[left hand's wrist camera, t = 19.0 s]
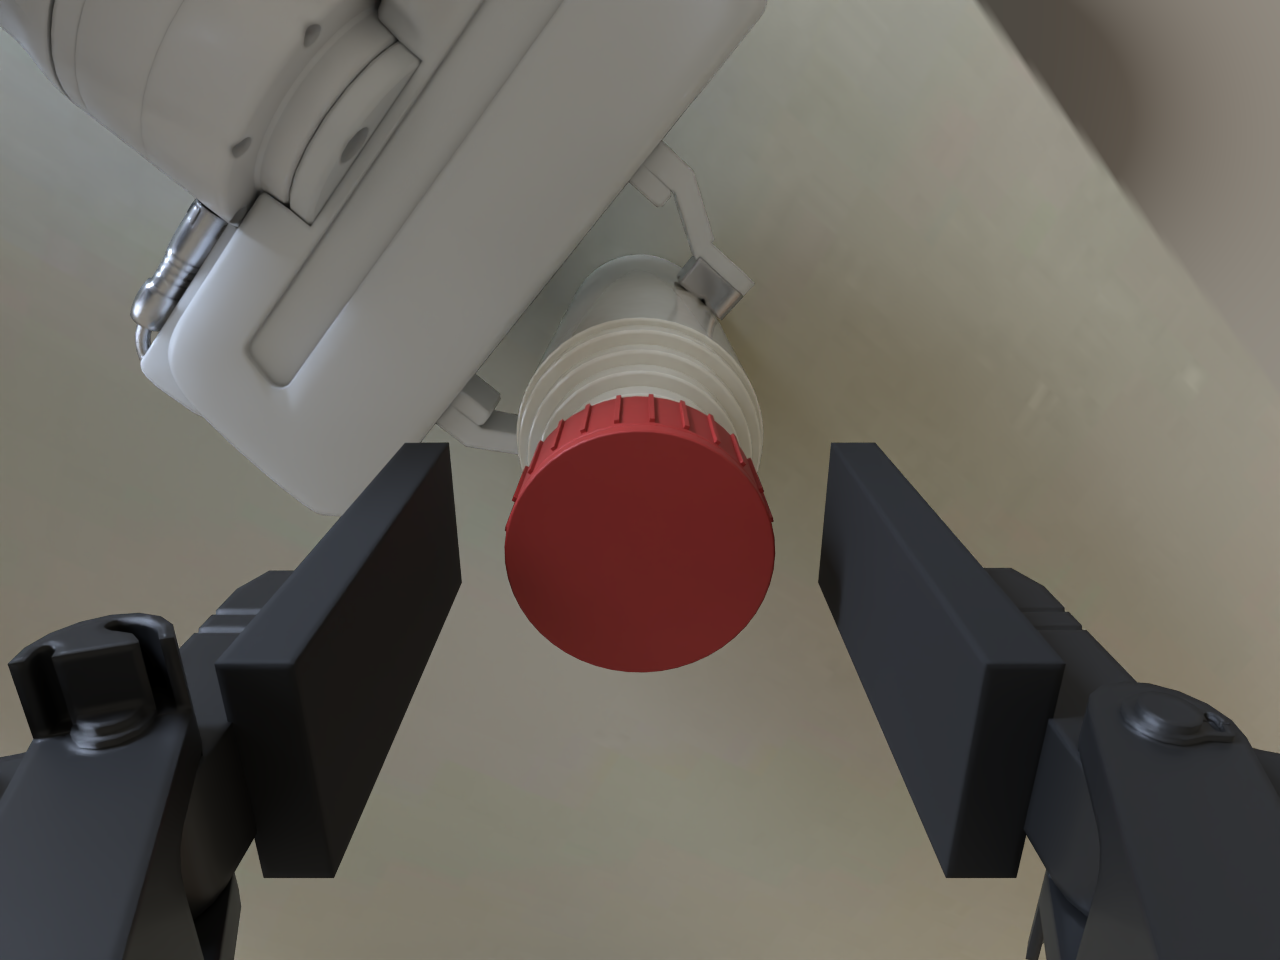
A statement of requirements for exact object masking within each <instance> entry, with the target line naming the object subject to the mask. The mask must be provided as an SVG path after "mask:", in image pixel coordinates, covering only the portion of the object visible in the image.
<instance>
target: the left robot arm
mask: <svg viewBox="0 0 1280 960" xmlns="http://www.w3.org/2000/svg"><path fill="white" fill-rule="evenodd" d="M461 583H462V580H461V569H460V558H459V547H458V536H457V526H456V515H455V504H454V493H453V483H452V472H451V461H450V450H449V443H404V444H403V446H402V447H401V448H400V449H399V450H398V451H397V452H396V454H395V455H394V456H393V457H392V458H391V459H390V461H389V462H388V463H387V464H386V465H385V466H384V468H383V469H382V470H381V471H380V472H379V473H378V474H377V476H376V477H375V478H374V479H373V480H372V481H371V483H370V484H369V485H368V486H367V487H366V488H365V490H364V491H363V492H362V493H361V494H360V495H359V496H358V498H357V499H356V500H355V501H354V502H353V503H352V505H351V506H350V507H349V508H348V509H347V510H346V512H345V513H344V514H343V515H342V516H341V517H340V518H339V520H338V521H337V522H336V523H335V524H334V525H333V527H332V528H331V529H330V530H329V531H328V532H327V534H326V535H325V536H324V537H323V538H322V539H321V540H320V542H319V543H318V544H317V545H316V546H315V547H314V549H313V550H312V551H311V552H310V553H309V554H308V556H307V557H306V558H305V559H304V560H303V561H302V562H301V564H300V565H299V566H298V567H297V568H296V569H295V571H268V572H266V573H264V574H263V575H261V576H259V577H257V578H256V579H254V580H252V581H250V582H248V583H247V584H245V585H243V586H241V587H240V588H238V589H236V590H235V591H234V592H233V594H232V595H231V596H230V597H229V598H228V599H227V600H226V601H225V602H224V603H223V604H222V605H221V606H220V607H219V608H218V609H217V610H216V615H211V616H210V617H209V618H208V619H207V620H206V622H205V623H204V624H203V625H202V626H201V627H200V628H199V632H198V633H194V634H193V635H192V636H191V637H190V638H189V639H188V640H187V641H186V642H185V643H184V644H183V645H182V646H181V647H180V649H179V647H178V643H177V639H176V635H175V631H174V627H173V624H171V623H170V622H168V621H167V620H165V619H164V618H162V617H161V616H156V615H149V614H143V613H131V614H116V615H108V616H104V617H100V618H95V619H91V620H86V621H82V622H79V623H76V624H73V625H71V626H68V627H65V628H63V629H60V630H57V631H55V632H52V633H50V634H48V635H46V636H44V637H43V638H41V639H39V640H37V641H36V642H34V643H32V644H30V645H29V646H27V647H25V648H24V649H23V650H22V651H21V652H20V653H19V654H18V655H17V656H15V657H14V658H13V659H12V660H11V661H10V662H9V663H8V666H9V669H10V672H11V675H12V678H13V681H14V684H15V687H16V690H17V693H18V695H19V698H20V701H21V704H22V707H23V710H24V713H25V716H26V719H27V722H28V724H29V727H30V730H31V733H32V736H33V741H32V743H31V744H30V746H29V748H28V750H27V752H25V753H21V754H15V755H10V756H5V757H0V960H234V955H235V947H236V940H237V933H238V926H239V918H240V911H241V902H240V895H239V888H238V884H237V880H236V876H235V870H236V869H237V867H238V865H239V863H240V862H241V860H242V858H243V856H244V855H245V853H246V851H247V850H248V848H249V846H250V844H251V843H252V841H253V839H254V838H255V843H256V847H257V851H258V855H259V860H260V864H261V868H262V873H263V877H264V878H334V877H335V874H336V872H337V870H338V867H339V865H340V863H341V861H342V858H343V856H344V854H345V851H346V849H347V847H348V844H349V842H350V840H351V837H352V835H353V833H354V830H355V828H356V826H357V824H358V821H359V819H360V817H361V814H362V812H363V810H364V807H365V805H366V803H367V800H368V798H369V796H370V793H371V791H372V789H373V787H374V784H375V782H376V780H377V777H378V775H379V773H380V770H381V768H382V766H383V763H384V761H385V759H386V756H387V754H388V752H389V750H390V747H391V745H392V743H393V740H394V738H395V736H396V733H397V731H398V729H399V726H400V724H401V722H402V720H403V717H404V715H405V713H406V710H407V708H408V706H409V703H410V701H411V699H412V696H413V694H414V692H415V689H416V687H417V685H418V683H419V680H420V678H421V676H422V673H423V671H424V669H425V666H426V664H427V662H428V659H429V657H430V655H431V652H432V650H433V648H434V646H435V643H436V641H437V639H438V636H439V634H440V632H441V629H442V627H443V625H444V622H445V620H446V618H447V615H448V613H449V611H450V609H451V606H452V604H453V602H454V599H455V597H456V595H457V592H458V590H459V588H460V585H461ZM818 583H819V585H820V588H821V590H822V592H823V595H824V597H825V599H826V602H827V604H828V606H829V609H830V611H831V613H832V616H833V618H834V620H835V622H836V625H837V627H838V629H839V632H840V634H841V636H842V639H843V641H844V643H845V646H846V648H847V650H848V652H849V655H850V657H851V659H852V662H853V664H854V666H855V669H856V671H857V673H858V676H859V678H860V680H861V683H862V685H863V687H864V689H865V692H866V694H867V696H868V699H869V701H870V703H871V706H872V708H873V710H874V713H875V715H876V717H877V720H878V722H879V724H880V726H881V729H882V731H883V733H884V736H885V738H886V740H887V743H888V745H889V747H890V750H891V752H892V754H893V756H894V759H895V761H896V763H897V766H898V768H899V770H900V773H901V775H902V777H903V780H904V782H905V784H906V787H907V789H908V791H909V793H910V796H911V798H912V800H913V803H914V805H915V807H916V810H917V812H918V814H919V817H920V819H921V821H922V824H923V826H924V828H925V830H926V833H927V835H928V837H929V840H930V842H931V844H932V847H933V849H934V851H935V854H936V856H937V858H938V861H939V863H940V865H941V867H942V870H943V872H944V874H945V877H946V878H1016V877H1017V873H1018V868H1019V864H1020V860H1021V855H1022V851H1023V847H1024V843H1025V838H1026V835H1027V837H1028V838H1029V840H1030V842H1031V844H1032V845H1033V847H1034V849H1035V850H1036V852H1037V854H1038V856H1039V857H1040V859H1041V861H1042V862H1043V864H1044V866H1045V868H1046V872H1045V876H1044V880H1043V884H1042V888H1041V892H1040V896H1039V900H1038V904H1037V909H1036V913H1035V917H1034V921H1033V925H1032V929H1031V933H1030V937H1029V941H1028V947H1027V954H1026V959H1028V960H1038V958H1039V954H1040V950H1041V946H1042V944H1043V943H1044V945H1045V952H1046V960H1280V754H1279V753H1273V752H1268V751H1263V750H1259V749H1255V748H1252V746H1251V745H1250V743H1249V741H1248V739H1247V738H1246V736H1245V735H1244V734H1243V733H1242V732H1241V731H1240V729H1239V728H1238V727H1237V726H1236V725H1235V724H1234V722H1233V721H1232V720H1231V719H1229V718H1228V717H1226V716H1225V715H1223V714H1222V713H1220V712H1219V711H1217V710H1216V709H1214V708H1213V707H1211V706H1210V705H1208V704H1207V703H1204V702H1202V701H1200V700H1197V699H1195V698H1193V697H1191V696H1188V695H1186V694H1184V693H1182V692H1179V691H1176V690H1172V689H1168V688H1165V687H1161V686H1157V685H1153V684H1149V683H1137V682H1136V681H1135V680H1134V679H1133V678H1132V677H1131V676H1130V675H1129V674H1128V672H1127V671H1126V670H1125V669H1124V668H1123V667H1122V666H1121V665H1120V664H1119V663H1118V662H1117V661H1116V660H1115V659H1114V658H1113V657H1112V656H1111V655H1110V654H1109V653H1108V652H1107V651H1106V650H1105V649H1104V648H1103V647H1102V646H1101V645H1100V644H1099V643H1098V642H1097V641H1096V640H1095V639H1094V637H1093V636H1092V635H1091V634H1090V633H1089V632H1088V631H1087V630H1082V625H1081V624H1080V623H1079V622H1078V621H1077V620H1076V619H1075V618H1074V617H1073V616H1072V615H1071V614H1070V613H1069V612H1065V610H1064V609H1065V608H1064V607H1063V606H1062V605H1061V604H1060V602H1059V601H1058V600H1057V599H1056V598H1055V597H1054V596H1053V595H1052V594H1051V593H1050V592H1049V591H1048V590H1047V589H1046V588H1045V587H1044V586H1042V585H1041V584H1039V583H1037V582H1035V581H1033V580H1032V579H1030V578H1028V577H1026V576H1024V575H1023V574H1021V573H1019V572H1017V571H1016V570H1014V569H1012V568H983V567H982V566H981V565H980V564H979V562H978V561H977V560H976V559H975V558H974V557H973V556H972V554H971V553H970V552H969V551H968V550H967V549H966V547H965V546H964V545H963V544H962V543H961V542H960V540H959V539H958V538H957V537H956V536H955V535H954V534H953V532H952V531H951V530H950V529H949V528H948V527H947V525H946V524H945V523H944V522H943V521H942V520H941V518H940V517H939V516H938V515H937V514H936V513H935V512H934V510H933V509H932V508H931V507H930V506H929V505H928V503H927V502H926V501H925V500H924V499H923V498H922V496H921V495H920V494H919V493H918V492H917V491H916V490H915V488H914V487H913V486H912V485H911V484H910V483H909V481H908V480H907V479H906V478H905V477H904V476H903V474H902V473H901V472H900V471H899V470H898V469H897V468H896V466H895V465H894V464H893V463H892V462H891V461H890V459H889V458H888V457H887V456H886V455H885V454H884V452H883V451H882V450H881V449H880V448H879V447H878V446H877V444H876V443H831V450H830V461H829V472H828V483H827V493H826V504H825V515H824V526H823V536H822V547H821V558H820V569H819V580H818Z"/></svg>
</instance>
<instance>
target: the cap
mask: <svg viewBox="0 0 1280 960" xmlns="http://www.w3.org/2000/svg"><path fill="white" fill-rule="evenodd" d="M763 492H764V490H763V487H762V485H761V482H760V480H759V477H758V475H757V472H756V469H755V467H754V464H753V462H752V459H751V458H748V459H747V458H746V456H745V454H744V452H743V450H742V449H741V448H740V446H739V443H738V440H737V438H736V436H735V434H734V433H733V434H731V435H730V434H729V433H728V432H727V431H726V430H725V429H724V428H723V427H722V426H721V425H719V424H718V423H717V422H716V421H714V417H713V415H711V414H708V416H707V415H705V414H704V413H702V412H700V411H699V410H697V409H694V408H692V407H690V406H687V405H686V404H685V401H682V400H680V402H676V401H672V400H669V399H663V398H657V397H654V394H649V396H648V397H645V396H633V397H623V398H622V397H621V395H617V396H616V399H612V400H608V401H603V402H600V403H598V404H595V405H592V406H591V404H590V403H589V404H587V405H586V406H585V409H583V410H582V411H580V412H578V413H576V414H574V415H572V416H571V417H570V418H568V419H567V420H565V421H564V420H563V419H562V420H560V421H559V423H558V426H557V428H556V429H555V430H554V431H553V432H552V433H550V434H549V436H548V437H547V438H546V439H545V441H544V442H543V441H541V440H540V441H539V443H538V445H537V447H536V450H535V453H534V456H533V458H532V461H531V463H530V465H529V467H528V466H525V468H524V470H523V473H522V476H521V478H520V481H519V483H518V486H517V488H516V491H515V494H514V496H513V499H512V501H514V502H515V503H514V506H513V508H512V511H511V513H510V516H509V519H508V521H507V524H506V527H505V531H506V539H505V564H506V570H507V575H508V579H509V582H510V585H511V588H512V591H513V594H514V596H515V598H516V600H517V602H518V604H519V606H520V608H521V609H522V611H523V612H524V614H525V615H526V617H527V618H528V620H529V621H530V622H531V623H532V624H533V625H534V627H535V628H536V629H537V630H538V631H539V632H540V633H541V634H542V635H543V636H544V637H545V638H547V639H548V640H549V641H550V642H551V643H552V644H554V645H555V646H557V647H558V648H560V649H561V650H563V651H564V652H566V653H568V654H570V655H572V656H573V657H575V658H577V659H579V660H582V661H584V662H587V663H590V664H592V665H595V666H599V667H603V668H607V669H611V670H617V671H625V672H654V671H663V670H668V669H673V668H678V667H681V666H684V665H687V664H690V663H693V662H696V661H698V660H700V659H702V658H704V657H707V656H709V655H710V654H712V653H714V652H715V651H717V650H719V649H720V648H722V647H723V646H724V645H726V644H727V643H728V642H730V641H731V640H732V639H733V638H735V637H736V636H737V635H738V634H739V633H740V632H741V631H742V630H743V629H744V628H745V627H746V625H747V624H748V623H749V622H750V620H751V619H752V618H753V616H754V615H755V614H756V612H757V610H758V609H759V607H760V605H761V603H762V602H763V600H764V598H765V595H766V593H767V590H768V588H769V585H770V582H771V578H772V574H773V570H774V560H775V540H774V533H773V528H772V523H771V522H773V517H772V514H771V511H770V509H769V506H768V504H767V501H766V498H765V496H764V493H763Z"/></svg>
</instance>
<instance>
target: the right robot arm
mask: <svg viewBox="0 0 1280 960" xmlns="http://www.w3.org/2000/svg"><path fill="white" fill-rule="evenodd" d="M766 5H767V0H0V27H1V28H2V29H4V30H5V31H6V32H7V33H9V34H10V35H11V36H12V37H13V38H14V39H15V40H16V41H17V42H18V43H19V44H20V45H21V46H22V47H23V48H24V50H25V51H26V52H27V53H28V54H29V56H30V57H31V58H32V60H33V61H34V62H35V64H36V65H37V66H38V67H39V69H40V70H41V71H42V73H43V74H44V75H45V76H46V77H47V78H48V80H49V81H50V82H51V83H52V84H53V85H54V86H55V87H56V88H57V89H58V90H59V91H60V92H61V93H62V94H63V95H65V96H66V97H67V98H68V99H69V100H70V101H72V102H73V103H74V104H75V105H77V106H78V107H79V108H81V109H82V110H83V111H84V112H86V113H87V114H88V115H90V116H91V117H92V118H93V119H95V120H96V121H97V122H99V123H100V124H101V125H103V126H104V127H105V128H107V129H108V130H109V131H110V132H112V133H113V134H114V135H116V136H117V137H118V138H119V139H121V140H122V141H123V142H125V143H126V144H127V145H128V146H130V147H131V148H132V149H134V150H135V151H136V152H138V153H139V154H140V155H141V156H143V157H144V158H145V159H147V160H148V161H149V162H150V163H152V164H153V165H154V166H156V167H157V168H158V169H159V170H160V171H161V172H163V173H164V174H165V175H167V176H168V177H169V178H170V179H172V180H173V181H174V182H176V183H177V184H178V185H180V186H181V187H182V188H183V189H185V190H186V191H187V192H189V193H190V194H191V195H192V196H194V197H195V198H196V199H195V201H194V202H193V203H192V205H191V206H190V208H189V209H188V211H187V214H186V215H185V217H184V218H183V220H182V222H181V223H180V225H179V227H178V228H177V230H176V232H175V233H174V235H173V237H172V239H171V241H170V243H169V246H168V248H167V250H166V252H165V253H166V254H165V255H164V257H163V259H162V262H161V263H160V265H159V266H158V269H157V270H156V271H155V273H154V275H153V276H152V277H151V278H148V279H147V280H146V282H145V283H144V284H143V285H142V287H141V288H140V290H139V291H138V293H137V295H136V297H135V299H134V302H133V304H132V308H131V313H130V316H131V318H132V319H133V320H134V322H136V323H137V327H136V333H135V343H136V350H137V354H138V357H139V359H140V361H141V369H142V371H143V373H144V374H145V376H146V377H147V378H148V379H149V380H150V381H151V382H152V383H153V384H154V385H155V386H156V387H158V388H159V389H160V390H162V391H163V392H165V393H166V394H167V395H169V396H170V397H172V398H173V399H175V400H176V401H177V402H179V403H180V404H182V405H183V406H184V407H186V408H187V409H189V410H190V411H192V412H193V413H195V414H197V415H199V416H201V417H203V418H205V419H206V420H207V422H209V423H210V424H211V425H212V426H213V427H214V428H215V429H216V430H217V431H218V432H219V433H220V434H221V435H222V436H223V437H224V438H225V439H226V440H227V441H228V442H229V443H230V444H232V445H233V446H234V447H235V448H236V449H237V450H238V451H239V452H240V453H241V454H242V455H244V456H245V457H246V458H247V459H248V460H249V461H250V462H252V463H253V464H254V465H255V466H256V467H257V468H259V469H260V470H261V471H262V472H263V473H264V474H265V475H267V476H268V477H269V478H270V479H272V480H273V481H274V482H275V483H276V484H278V485H279V486H280V487H281V488H282V489H284V490H285V491H286V492H287V493H289V494H290V495H291V496H293V497H294V498H295V499H296V500H298V501H299V502H300V503H302V504H303V505H305V506H306V507H307V508H309V509H310V510H312V511H314V512H316V513H318V514H321V515H327V516H342V515H343V514H344V513H345V512H346V510H347V509H348V508H349V507H350V506H351V505H352V503H353V502H354V501H355V500H356V499H357V498H358V496H359V495H360V494H361V493H362V492H363V491H364V490H365V488H366V487H367V486H368V485H369V484H370V483H371V481H372V480H373V479H374V478H375V477H376V476H377V474H378V473H379V472H380V471H381V470H382V469H383V468H384V466H385V465H386V464H387V463H388V462H389V461H390V459H391V458H392V457H393V456H394V455H395V454H396V452H397V451H398V450H399V449H400V448H401V447H402V446H403V444H404V443H421V441H422V440H423V439H424V437H425V436H426V435H427V433H428V432H429V431H430V430H431V428H432V427H433V426H434V425H435V423H436V424H437V425H438V426H440V427H441V428H442V429H444V430H445V431H446V432H448V433H449V434H450V435H451V436H453V437H454V438H455V439H457V440H458V441H459V442H461V443H462V444H463V445H465V446H466V447H472V448H479V449H485V450H492V451H498V452H505V453H511V454H518V450H517V441H516V434H517V420H518V415H516V414H511V413H506V412H501V411H496V410H494V409H495V407H496V406H497V404H498V402H499V401H500V399H501V396H500V393H498V392H497V391H496V390H495V389H494V388H492V387H491V386H490V385H489V384H487V383H486V382H485V381H484V380H482V379H481V378H480V377H479V376H477V375H476V374H475V373H476V372H477V371H478V369H479V368H480V367H481V366H482V364H483V363H484V362H485V361H486V359H487V358H488V357H489V356H490V354H491V353H492V352H493V351H494V349H495V348H496V347H497V346H498V344H499V343H500V342H501V341H502V339H503V338H504V337H505V336H506V334H507V333H508V332H509V331H510V329H511V328H512V327H513V326H514V324H515V323H516V322H517V321H518V319H519V318H520V317H521V316H522V314H523V313H524V312H525V311H526V309H527V308H528V307H529V306H530V304H531V303H532V302H533V301H534V299H535V298H536V297H537V296H538V294H539V293H540V292H541V291H542V289H543V288H544V287H545V286H546V284H547V283H548V282H549V281H550V279H551V278H552V277H553V276H554V274H555V273H556V272H557V271H558V269H559V268H560V267H561V266H562V264H563V263H564V262H565V261H566V259H567V258H568V257H569V256H570V254H571V253H572V252H573V251H574V249H575V248H576V247H577V246H578V244H579V243H580V242H581V241H582V239H583V238H584V237H585V236H586V234H587V233H588V232H589V231H590V229H591V228H592V227H593V226H594V224H595V223H596V222H597V221H598V219H599V218H600V217H601V216H602V214H603V213H604V212H605V211H606V209H607V208H608V207H609V206H610V204H611V203H612V202H613V201H614V199H615V198H616V197H617V196H618V194H619V193H620V192H621V191H622V189H623V188H624V187H625V186H626V184H627V183H628V182H630V183H631V184H632V185H633V186H634V187H635V188H636V189H637V190H638V191H640V192H641V193H642V194H643V195H644V196H645V197H646V198H647V199H648V200H650V201H651V202H652V203H653V204H654V205H655V206H656V207H662V206H663V205H664V204H665V203H666V202H667V201H668V199H669V198H670V197H671V192H672V193H673V196H674V200H675V203H676V206H677V209H678V212H679V215H680V218H681V221H682V225H683V228H684V231H685V234H686V237H687V240H688V243H689V246H690V250H691V253H692V255H693V256H692V257H691V258H690V259H689V260H688V262H687V263H686V264H685V265H684V267H683V268H682V269H681V270H680V271H679V273H678V274H677V275H676V276H677V279H678V282H679V283H680V284H681V285H682V286H683V287H684V288H685V289H686V290H687V291H688V292H689V293H691V294H692V295H694V296H695V297H696V298H702V299H703V301H704V303H705V305H706V306H707V307H708V308H709V310H710V311H711V312H712V313H713V314H714V315H715V316H716V317H718V318H719V319H721V320H722V319H723V318H724V317H725V316H726V315H727V314H728V313H729V312H730V311H731V309H732V308H733V307H734V306H735V305H736V304H737V303H738V302H739V301H740V300H741V299H742V298H743V296H744V295H745V294H746V293H747V292H748V291H749V290H750V288H751V287H752V286H753V285H754V284H755V283H754V282H753V281H752V280H751V279H750V278H749V277H748V276H747V275H746V274H745V273H744V272H743V271H742V270H741V269H740V268H739V267H738V266H737V265H735V264H734V263H733V262H732V261H731V260H730V259H729V258H728V257H727V256H726V255H725V254H724V253H722V252H721V251H720V250H719V249H718V248H717V247H716V246H715V245H714V244H713V243H712V242H713V241H714V236H713V233H712V230H711V226H710V223H709V220H708V216H707V213H706V210H705V207H704V203H703V200H702V197H701V193H700V190H699V187H698V183H697V180H696V177H695V174H694V171H693V170H692V169H691V168H690V167H689V166H688V165H687V164H686V163H685V162H684V161H683V160H682V159H681V158H680V157H679V156H678V155H677V154H676V153H675V152H673V151H672V150H671V149H670V148H669V147H668V146H667V145H666V144H665V143H664V142H663V141H662V139H663V138H664V137H665V135H666V134H667V133H668V132H669V130H670V129H671V128H672V127H673V125H674V124H675V123H676V122H677V120H678V119H679V118H680V117H681V115H682V114H683V113H684V112H685V110H686V109H687V108H688V107H689V105H690V104H691V103H692V102H693V101H694V100H695V99H696V98H697V96H698V95H699V94H700V93H701V91H702V90H703V89H704V88H705V86H706V85H707V84H708V83H709V81H710V80H711V79H712V78H713V76H714V75H715V74H716V73H717V71H718V70H719V69H720V68H721V66H722V65H723V64H724V63H725V61H726V60H727V59H728V58H729V56H730V55H731V54H732V53H733V51H734V50H735V49H736V48H737V46H738V45H739V44H740V43H741V41H742V40H743V39H744V38H745V36H746V35H747V34H748V33H749V31H750V30H751V29H752V28H753V26H754V25H755V24H756V23H757V21H758V20H759V19H760V17H761V16H762V14H763V12H764V11H765V9H766ZM152 331H160V332H159V333H158V335H157V337H156V338H155V340H154V341H153V343H152V344H151V332H152Z"/></svg>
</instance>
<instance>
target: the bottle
mask: <svg viewBox="0 0 1280 960" xmlns="http://www.w3.org/2000/svg"><path fill="white" fill-rule="evenodd" d="M681 269H682V268H681V267H680V266H678V265H677V264H675V263H673V262H671V261H669V260H666V259H664V258H661V257H657V256H653V255H644V254H637V255H628V256H622V257H619V258H616V259H613V260H611V261H609V262H607V263H605V264H603V265H601V266H600V267H598V268H597V269H596V270H594V271H593V272H592V273H591V274H590V275H589V276H588V277H587V278H586V279H585V280H584V282H583V283H582V284H581V286H580V287H579V289H578V290H577V292H576V294H575V296H574V298H573V300H572V301H571V303H570V305H569V307H568V309H567V311H566V313H565V315H564V317H563V319H562V321H561V323H560V324H559V326H558V328H557V330H556V332H555V334H554V336H553V338H552V340H551V342H550V344H549V346H548V347H547V349H546V351H545V353H544V355H543V357H542V359H541V361H540V363H539V365H538V367H537V369H536V370H535V372H534V374H533V376H532V378H531V380H530V382H529V384H528V386H527V389H526V391H525V393H524V395H523V399H522V402H521V405H520V408H519V414H518V420H517V434H516V441H517V450H518V457H519V461H520V466H521V470H522V473H523V470H524V468H525V466H528V467H529V465H530V463H531V461H532V458H533V456H534V453H535V450H536V447H537V445H538V443H539V441H540V440H541V441H543V442H544V441H545V439H546V438H547V437H548V436H549V434H550V433H552V432H553V431H554V430H555V429H556V428H557V426H558V423H559V421H560V420H562V419H563V420H564V421H565V420H567V419H568V418H570V417H571V416H572V415H574V414H576V413H578V412H580V411H582V410H583V409H585V406H586V405H587V404H589V403H590V404H591V406H592V405H595V404H598V403H600V402H603V401H608V400H612V399H616V396H617V395H621V397H622V398H623V397H633V396H645V397H648V396H649V394H654V397H657V398H663V399H669V400H672V401H676V402H680V400H682V401H685V404H686V405H687V406H690V407H692V408H694V409H697V410H699V411H700V412H702V413H704V414H705V415H707V416H708V414H711V415H713V417H714V421H716V422H717V423H718V424H719V425H721V426H722V427H723V428H724V429H725V430H726V431H727V432H728V433H729V434H730V435H731V434H733V433H734V434H735V436H736V438H737V440H738V443H739V446H740V448H741V449H742V450H743V452H744V454H745V456H746V458H747V459H748V458H751V459H752V462H753V464H754V467H755V469H756V472H757V473H758V469H759V464H760V460H761V455H762V448H763V422H762V414H761V410H760V406H759V403H758V399H757V396H756V394H755V391H754V389H753V387H752V385H751V382H750V380H749V379H748V377H747V375H746V373H745V371H744V369H743V367H742V365H741V363H740V361H739V359H738V357H737V356H736V354H735V352H734V350H733V348H732V346H731V344H730V342H729V340H728V338H727V336H726V334H725V333H724V331H723V329H722V327H721V325H720V323H719V321H718V319H717V317H716V316H715V315H714V314H713V313H712V312H711V311H710V310H709V308H708V307H707V306H706V305H705V303H704V301H703V299H702V298H696V297H695V296H694V295H692V294H691V293H689V292H688V291H687V290H686V289H685V288H684V287H683V286H682V285H681V284H680V283H679V282H678V279H677V276H676V275H677V274H678V273H679V271H680V270H681Z"/></svg>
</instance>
